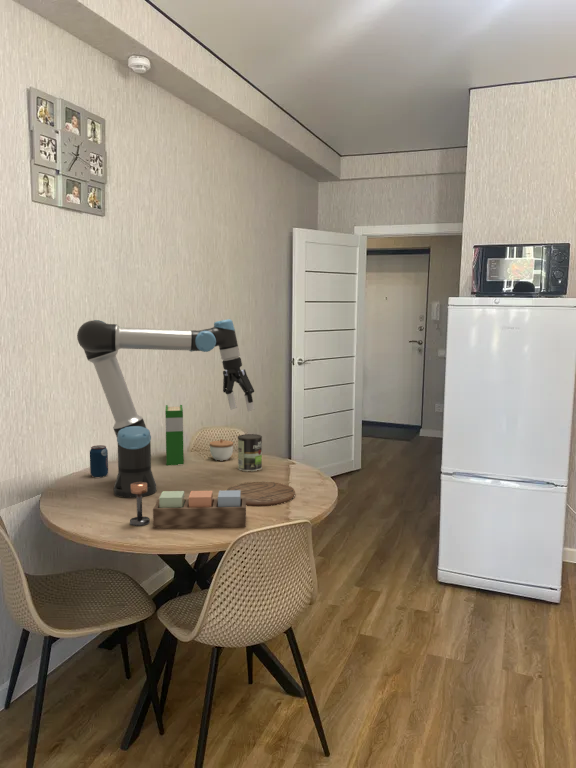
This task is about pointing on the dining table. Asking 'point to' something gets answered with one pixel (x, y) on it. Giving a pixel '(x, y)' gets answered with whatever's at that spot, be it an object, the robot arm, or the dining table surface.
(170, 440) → the hardback book
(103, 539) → the dining table surface
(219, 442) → the lidded jar
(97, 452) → the soda can
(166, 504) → the sage button
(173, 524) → the button console
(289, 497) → the trivet
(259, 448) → the coffee can
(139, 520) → the indicator lamp
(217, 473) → the dining table surface
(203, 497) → the terracotta button
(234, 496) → the slate button
